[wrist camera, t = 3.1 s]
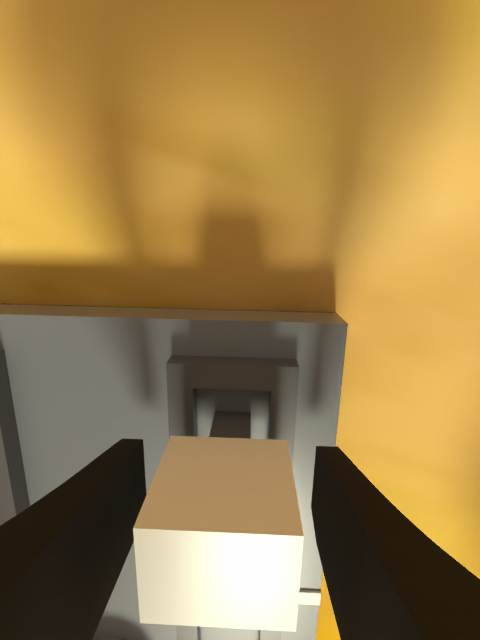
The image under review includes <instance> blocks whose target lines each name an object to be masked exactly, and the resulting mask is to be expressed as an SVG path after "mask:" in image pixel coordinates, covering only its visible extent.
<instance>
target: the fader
mask: <svg viewBox="0 0 480 640" xmlns="http://www.w3.org/2000/svg"><path fill="white" fill-rule="evenodd" d="M133 535H134V548H135V562H136V575H137V589H138V602H139V616H140V623H145V624H163V625H181V626H199V627H217V628H235V629H253V630H271V631H289V632H296V626H297V614H298V602H299V590H300V577H301V565H302V553H303V540H304V534H303V528H302V523H301V517H300V511H299V505H298V499H297V493H296V487H295V481H294V476H293V470H292V464H291V458H290V452H289V446H288V440H273V439H251V413H244V412H216V411H215V412H214V417H213V421H212V426H211V431H210V435H209V437H194V436H170V439H169V441H168V444H167V446H166V449H165V451H164V453H163V456H162V458H161V461H160V463H159V466H158V468H157V471H156V473H155V476H154V478H153V480H152V483H151V485H150V488H149V490H148V493H147V495H146V498H145V500H144V503H143V505H142V507H141V510H140V512H139V515H138V517H137V520H136V522H135V525H134V527H133Z"/></svg>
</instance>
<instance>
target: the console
mask: <svg viewBox="0 0 480 640" xmlns="http://www.w3.org/2000/svg"><path fill="white" fill-rule="evenodd" d="M347 326H348V324H347V323H346V322H345V321H344V320H343V319H342V318H341V317H340V316H339V315H338V314H337V313H326V312H287V311H249V310H211V309H173V308H134V307H96V306H58V305H20V304H0V525H2V524H4V523H5V522H7V521H8V520H10V519H11V518H13V517H15V516H16V515H18V514H19V513H21V512H22V511H24V510H25V509H27V508H28V507H29V506H31V505H32V504H34V503H35V502H37V501H38V500H40V499H41V498H42V497H44V496H45V495H47V494H48V493H50V492H51V491H53V490H54V489H55V488H57V487H58V486H60V485H61V484H63V483H64V482H65V481H67V480H68V479H69V478H71V477H72V476H73V475H75V474H76V473H77V472H79V471H80V470H81V469H82V468H84V467H85V466H86V465H88V464H89V463H90V462H92V461H93V460H94V459H96V458H97V457H98V456H99V455H101V454H102V453H103V452H105V451H106V450H107V449H109V448H110V447H111V446H113V445H114V444H115V443H117V442H118V441H119V440H121V439H122V438H124V439H143V445H144V462H145V478H146V495H147V493H148V490H149V488H150V485H151V483H152V480H153V478H154V476H155V473H156V471H157V468H158V466H159V463H160V461H161V458H162V456H163V453H164V451H165V449H166V446H167V444H168V441H169V439H170V436H194V437H209V435H210V431H211V426H212V421H213V417H214V412H215V411H216V412H244V413H251V439H273V440H288V446H289V452H290V458H291V464H292V470H293V476H294V481H295V487H296V493H297V499H298V505H299V511H300V517H301V523H302V528H303V534H304V540H303V553H302V565H301V577H300V590H299V602H298V614H297V626H296V632H289V631H271V630H253V629H235V628H217V627H199V626H181V625H163V624H145V623H140V616H139V602H138V589H137V575H136V562H135V548H134V542H133V544H132V547H131V549H130V551H129V554H128V556H127V559H126V561H125V563H124V566H123V568H122V571H121V573H120V575H119V578H118V580H117V582H116V585H115V587H114V589H113V592H112V594H111V597H110V599H109V601H108V604H107V606H106V608H105V611H104V613H103V615H102V618H101V620H100V622H99V625H98V627H97V630H96V632H95V635H94V637H93V640H316V631H317V621H318V611H319V605H320V599H321V581H322V572H323V568H322V564H321V560H320V556H319V552H318V548H317V544H316V537H315V531H314V524H313V517H312V510H311V500H312V488H313V477H314V465H315V453H316V446H332V447H335V444H336V434H337V424H338V414H339V404H340V395H341V385H342V375H343V365H344V355H345V345H346V336H347Z"/></svg>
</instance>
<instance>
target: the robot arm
mask: <svg viewBox="0 0 480 640" xmlns="http://www.w3.org/2000/svg"><path fill="white" fill-rule="evenodd" d="M145 498H146V478H145V462H144V445H143V439H124V438H122V439H121V440H119V441H118V442H117V443H115V444H114V445H113V446H111V447H110V448H109V449H107V450H106V451H105V452H103V453H102V454H101V455H99V456H98V457H97V458H96V459H94V460H93V461H92V462H90V463H89V464H88V465H86V466H85V467H84V468H82V469H81V470H80V471H79V472H77V473H76V474H75V475H73V476H72V477H71V478H69V479H68V480H67V481H65V482H64V483H63V484H61V485H60V486H58V487H57V488H55V489H54V490H53V491H51V492H50V493H48V494H47V495H45V496H44V497H42V498H41V499H40V500H38V501H37V502H35V503H34V504H32V505H31V506H29V507H28V508H27V509H25V510H24V511H22V512H21V513H19V514H18V515H16V516H15V517H13V518H11V519H10V520H8V521H7V522H5V523H4V524H2V525H0V640H93V637H94V635H95V632H96V630H97V627H98V625H99V622H100V620H101V618H102V615H103V613H104V611H105V608H106V606H107V604H108V601H109V599H110V597H111V594H112V592H113V589H114V587H115V585H116V582H117V580H118V578H119V575H120V573H121V571H122V568H123V566H124V563H125V561H126V559H127V556H128V554H129V551H130V549H131V547H132V544H133V542H134V535H133V527H134V525H135V522H136V520H137V517H138V515H139V512H140V510H141V507H142V505H143V503H144V500H145ZM311 510H312V517H313V524H314V531H315V537H316V544H317V548H318V552H319V556H320V560H321V564H322V568H323V572H324V576H325V580H326V584H327V587H328V591H329V595H330V599H331V603H332V607H333V610H334V614H335V618H336V622H337V626H338V630H339V634H340V637H341V640H480V579H479V578H477V577H476V576H475V575H473V574H472V573H471V572H470V571H468V570H467V569H466V568H465V567H463V566H462V565H461V564H460V563H459V562H457V561H456V560H455V559H454V558H452V557H451V556H450V555H449V554H447V553H446V552H445V551H444V550H442V549H441V548H440V547H439V546H438V545H436V544H435V543H434V542H433V541H432V540H431V539H430V538H428V537H427V536H426V535H425V534H424V533H423V532H422V531H421V530H419V529H418V528H417V527H416V526H415V525H414V524H413V523H412V522H411V521H410V520H409V519H407V518H406V517H405V516H404V515H403V514H402V513H401V512H400V511H399V510H398V509H397V508H396V507H395V506H394V505H393V504H392V503H391V502H390V501H389V500H388V499H387V498H386V497H385V496H384V495H383V494H382V493H381V492H380V491H379V490H378V489H377V488H376V487H375V486H374V485H373V484H372V483H371V482H370V481H369V480H368V479H367V478H366V477H365V476H364V474H363V473H362V472H361V471H360V470H359V469H358V468H357V467H356V466H355V465H354V464H353V463H352V461H351V460H350V459H349V458H348V457H347V456H346V455H345V454H344V453H343V452H342V451H341V449H340V448H339V447H332V446H316V453H315V465H314V477H313V488H312V500H311Z"/></svg>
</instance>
